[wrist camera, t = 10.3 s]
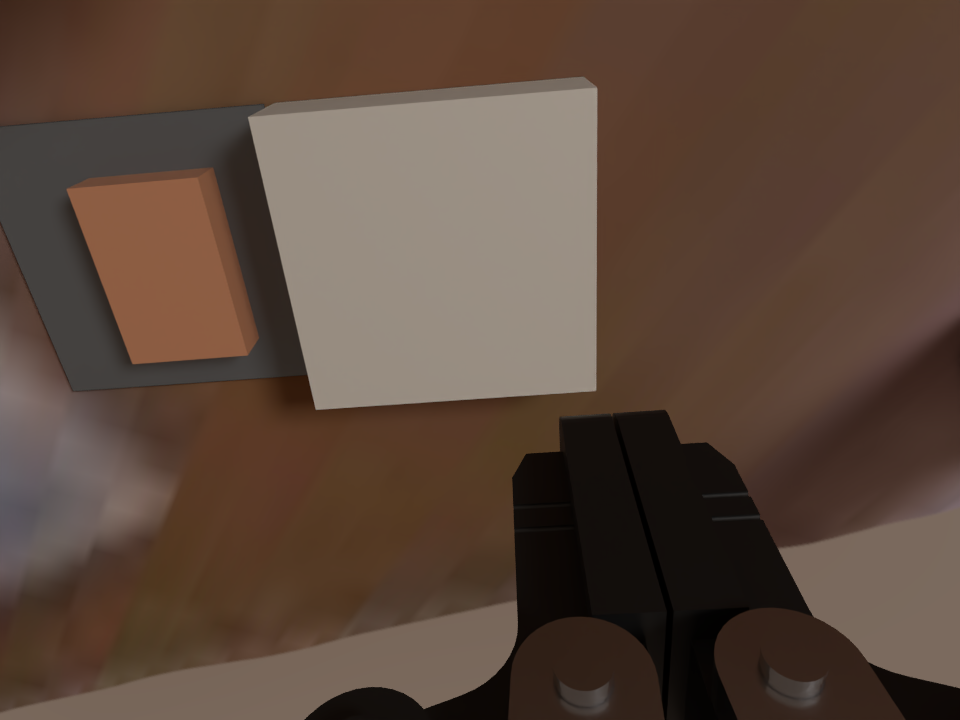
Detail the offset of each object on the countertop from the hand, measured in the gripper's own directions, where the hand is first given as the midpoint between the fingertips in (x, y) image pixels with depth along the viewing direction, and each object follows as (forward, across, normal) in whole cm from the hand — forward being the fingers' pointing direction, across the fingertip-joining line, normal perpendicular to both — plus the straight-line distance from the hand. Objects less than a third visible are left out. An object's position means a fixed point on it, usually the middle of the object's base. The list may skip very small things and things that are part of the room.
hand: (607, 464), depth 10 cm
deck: (+24, +4, +4) cm, 25 cm away
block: (+22, +18, +4) cm, 29 cm away
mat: (+24, +19, +4) cm, 31 cm away
